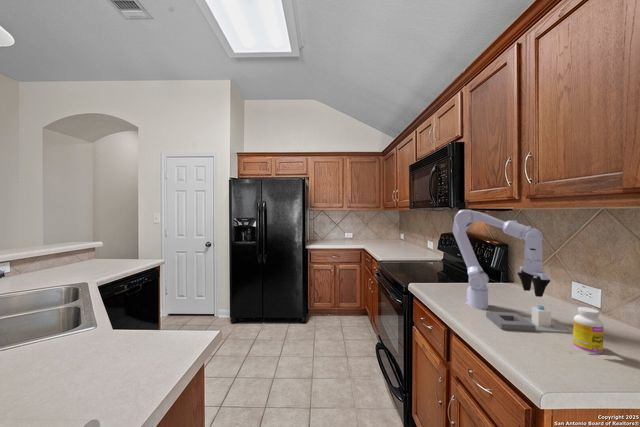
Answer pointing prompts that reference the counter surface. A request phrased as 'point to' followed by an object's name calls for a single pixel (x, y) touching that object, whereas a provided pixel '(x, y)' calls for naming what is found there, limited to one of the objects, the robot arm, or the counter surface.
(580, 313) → the supplement bottle
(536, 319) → the plug block
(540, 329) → the jack panel
